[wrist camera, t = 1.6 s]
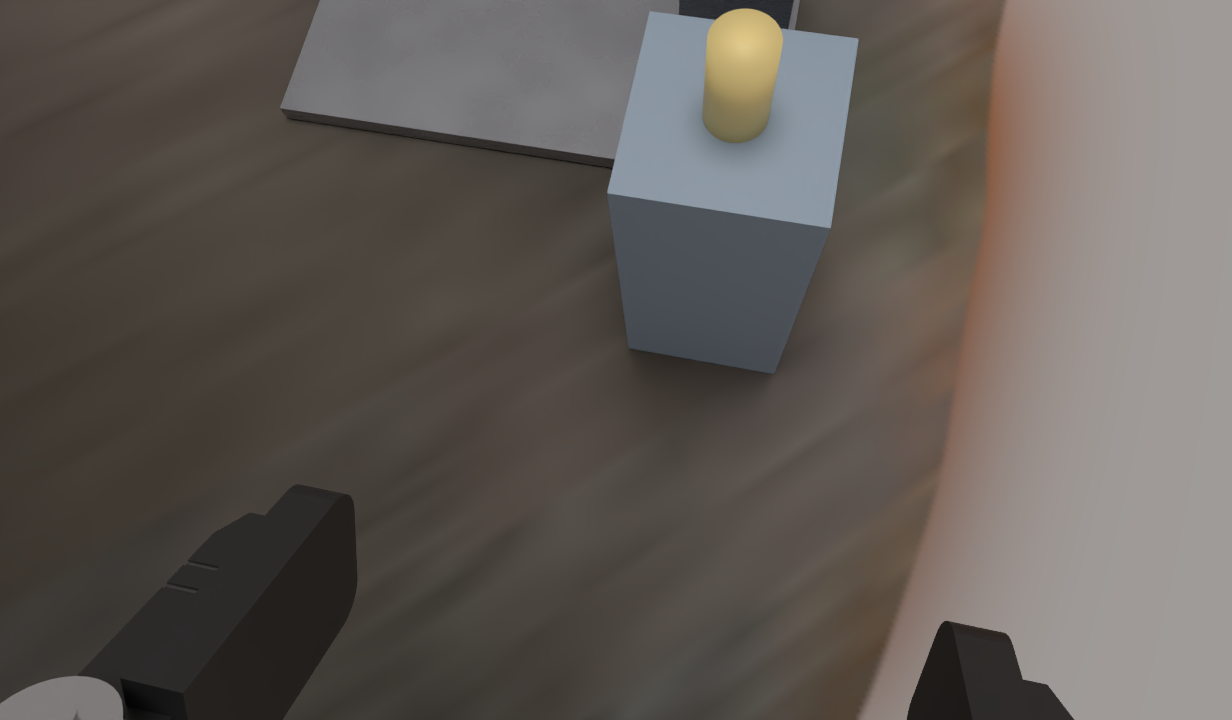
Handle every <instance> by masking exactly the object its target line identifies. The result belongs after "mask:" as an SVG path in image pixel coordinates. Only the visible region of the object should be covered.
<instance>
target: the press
mask: <svg viewBox="0 0 1232 720" xmlns="http://www.w3.org/2000/svg"><path fill="white" fill-rule="evenodd" d="M799 3H800V0H320V2H319V5H318V7H317V10H316V13H315V15H314V18H313V21H312V23H311V26H310V29H309V32H308V34H307V37H306V40H305V42H304V45H303V48H302V50H301V53H300V56H299V59H298V61H297V64H296V67H295V69H294V72H293V75H292V77H291V80H290V83H289V86H288V88H287V91H286V94H285V96H284V99H283V102H282V104H281V107H280V109H281V110H282V111H283V113H284V114H285V116H286V117H287V118H291V119H297V120H304V121H310V122H317V123H323V124H330V125H336V126H343V127H349V128H356V129H362V130H369V131H375V132H382V133H388V134H395V135H401V136H408V137H414V138H421V139H427V140H434V141H440V142H447V143H453V144H460V145H466V146H473V147H479V148H486V149H492V150H499V151H505V152H512V153H518V154H525V155H531V156H538V157H544V158H551V159H557V160H564V161H570V162H577V163H583V164H590V165H596V166H603V167H609V168H613V166H614V162H615V157H616V153H617V149H618V144H619V140H620V136H621V132H622V127H623V123H624V119H625V115H626V110H627V106H628V102H629V98H630V93H631V89H632V85H633V80H634V76H635V72H636V68H637V63H638V59H639V55H640V51H641V46H642V42H643V38H644V34H645V29H646V25H647V21H648V16H649V12H650V11H652V12H660V13H667V14H675V15H682V16H690V17H698V18H705V19H713V20H716V19H717V18H719V17H720V16H721V15H723V14H725V13H727V12H729V11H732V10H736V9H754V10H758V11H761V12H763V13H765V14H767V15H769V16H770V17H771V18H773V19H774V20H775V21H776V23H777V24H778V25H779V27H780V28H781V29H789V30H795V26H796V20H797V14H798V9H799Z"/></svg>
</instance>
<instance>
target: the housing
mask: <svg viewBox="0 0 1232 720" xmlns="http://www.w3.org/2000/svg"><path fill="white" fill-rule="evenodd" d="M858 40H859V39H857V38H850V37H842V36H835V35H827V34H819V33H812V32H804V31H797V30H789V29H781V28H780V27H779V25H778V24H777V23H776V21H775V20H774V19H773V18H771V17H770V16H769V15H767V14H765V13H763V12H761V11H758V10H754V9H736V10H732V11H729V12H727V13H725V14H723V15H721V16H720V17H719V18H717V19H716V20H713V19H705V18H698V17H690V16H682V15H675V14H667V13H660V12H652V11H650V12H649V16H648V21H647V25H646V29H645V34H644V38H643V42H642V46H641V51H640V55H639V59H638V63H637V68H636V72H635V76H634V80H633V85H632V89H631V93H630V98H629V102H628V106H627V110H626V115H625V119H624V123H623V127H622V132H621V136H620V140H619V144H618V149H617V153H616V157H615V162H614V166H613V170H612V174H611V179H610V183H609V187H608V191H607V196H608V203H609V210H610V218H611V225H612V232H613V239H614V246H615V254H616V261H617V268H618V275H619V282H620V290H621V297H622V304H623V311H624V318H625V326H626V333H627V340H628V347H629V348H630V349H635V350H641V351H647V352H652V353H658V354H664V355H669V356H675V357H680V358H686V359H692V360H697V361H703V362H708V363H714V364H720V365H725V366H731V367H737V368H742V369H748V370H753V371H759V372H765V373H770V374H774V373H775V371H776V368H777V366H778V363H779V361H780V358H781V355H782V353H783V350H784V348H785V345H786V342H787V340H788V337H789V335H790V332H791V330H792V327H793V324H794V322H795V319H796V317H797V314H798V311H799V309H800V306H801V304H802V301H803V299H804V296H805V293H806V291H807V288H808V286H809V283H810V280H811V278H812V275H813V273H814V270H815V268H816V265H817V262H818V260H819V257H820V255H821V252H822V249H823V247H824V244H825V242H826V239H827V237H828V234H829V231H830V229H831V223H832V216H833V209H834V203H835V196H836V189H837V182H838V175H839V169H840V162H841V155H842V148H843V142H844V135H845V128H846V121H847V115H848V108H849V101H850V94H851V87H852V81H853V74H854V67H855V60H856V54H857V47H858Z"/></svg>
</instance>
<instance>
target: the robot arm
mask: <svg viewBox="0 0 1232 720" xmlns="http://www.w3.org/2000/svg"><path fill="white" fill-rule="evenodd" d="M356 588H357V559H356V537H355V514H354V503H353V500H352V498H351V497H350V495H347V494H343V493H338V492H333V491H328V490H323V489H318V488H314V487H309V486H304V485H294V486H292V487H291V488H290V489H289V490H288V491H287V492H286V493H285V494H284V495H283V496H282V497H281V498H280V500H279V501H278V502H277V503H276V504H275V505H274V506H273V507H272V508H271V510H270V511H269V512H268V513H267V514H266V515H265V516H263V515H258V514H254V513H248V514H247V515H245V516H243V517H241V518H240V519H238V520H236V521H234V522H232V523H231V524H229V525H227V526H225V527H223V528H222V529H220V530H218V531H216V532H215V533H213V534H212V535H211V536H210V537H209V538H208V540H207V541H206V542H205V543H204V544H203V545H202V546H201V547H200V548H199V549H198V550H197V551H196V552H195V553H194V554H193V555H192V556H191V557H190V558H189V559H188V564H187V565H186V566H185V565H183V566H182V567H181V568H180V569H179V570H178V571H177V572H176V573H175V574H174V575H173V576H172V577H171V578H170V579H169V580H168V581H167V586H166V587H165V588H161V589H160V590H159V591H158V592H157V593H156V594H155V595H154V596H153V597H152V598H151V599H150V600H149V601H148V602H147V604H146V605H145V606H144V607H143V608H142V609H141V610H140V611H139V612H138V613H137V614H136V615H135V616H134V617H133V618H132V619H131V620H130V621H129V622H128V623H127V624H126V626H125V627H124V628H123V629H122V630H121V631H120V632H119V633H118V634H117V635H116V636H115V637H114V638H113V639H112V640H111V641H110V642H109V643H108V644H107V645H106V647H105V648H104V649H103V650H102V651H101V652H100V653H99V654H98V655H97V656H96V657H95V658H94V659H93V660H92V661H91V662H90V663H89V664H88V665H87V666H86V667H85V669H84V670H83V671H82V672H80V673H79V674H78V675H77V676H70V677H61V678H56V679H51V680H48V681H44V682H41V683H38V684H35V685H33V686H31V687H28V688H26V689H24V690H22V691H20V692H18V693H16V694H14V695H13V696H11V697H10V698H8V699H7V700H5V701H3V702H2V703H1V704H0V720H283V718H284V716H285V715H286V713H287V712H288V710H289V709H290V707H291V706H292V704H293V703H294V701H295V699H296V698H297V696H298V695H299V693H300V692H301V690H302V689H303V687H304V686H305V684H306V682H307V681H308V679H309V678H310V676H311V675H312V673H313V672H314V670H315V668H316V667H317V665H318V664H319V662H320V661H321V659H322V658H323V656H324V655H325V653H326V651H327V650H328V648H329V647H330V645H331V644H332V642H333V641H334V639H335V638H336V636H337V634H338V633H339V631H340V630H341V628H342V627H343V625H344V623H345V622H346V620H347V618H348V615H349V613H350V611H351V608H352V605H353V601H354V598H355V593H356ZM907 720H1074V719H1073V718H1072V716H1071V715H1070V714H1069V712H1068V711H1067V710H1066V709H1065V707H1064V706H1063V705H1062V704H1061V702H1060V701H1059V699H1058V698H1057V697H1056V696H1055V694H1054V693H1053V692H1052V690H1051V689H1050V688H1049V686H1048V685H1046V684H1041V683H1037V682H1032V681H1027V680H1023V679H1022V675H1021V672H1020V668H1019V665H1018V662H1017V658H1016V655H1015V651H1014V648H1013V645H1012V642H1011V640H1010V638H1009V636H1008V635H1007V634H1006V633H1002V632H998V631H993V630H988V629H983V628H978V627H974V626H969V625H964V624H959V623H954V622H950V621H944V622H943V623H942V624H941V626H940V627H939V629H938V631H937V634H936V636H935V639H934V642H933V644H932V647H931V649H930V652H929V655H928V658H927V660H926V663H925V666H924V668H923V671H922V674H921V676H920V679H919V681H918V684H917V687H916V690H915V693H914V695H913V697H912V700H911V703H910V707H909V711H908V716H907Z"/></svg>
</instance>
